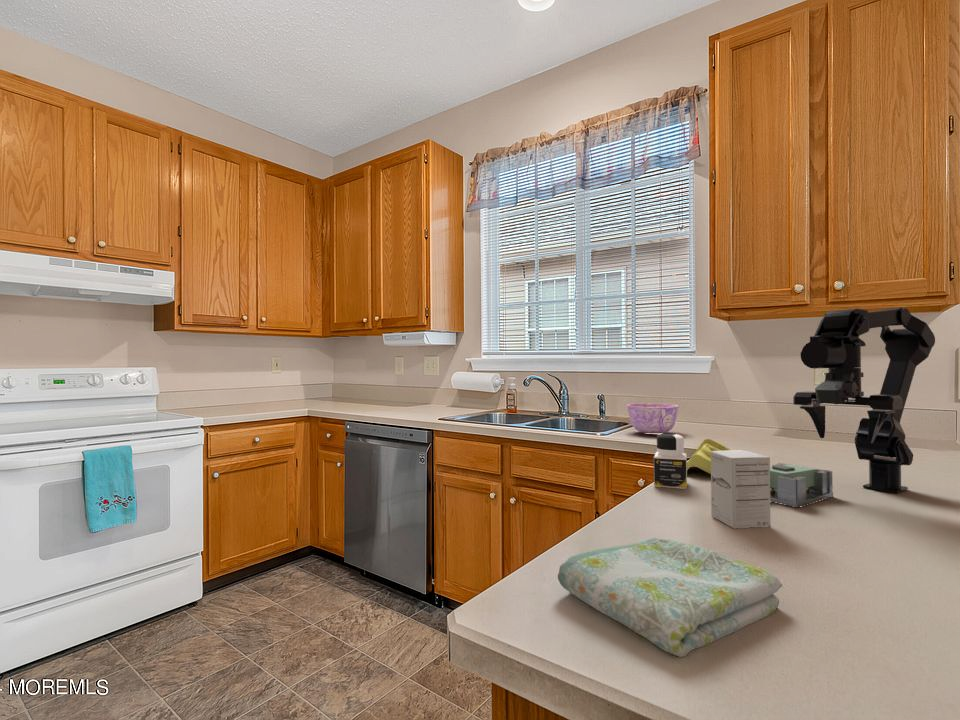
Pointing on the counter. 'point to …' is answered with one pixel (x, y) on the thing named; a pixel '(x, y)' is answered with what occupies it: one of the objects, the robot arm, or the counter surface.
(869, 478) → the robot arm
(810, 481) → the green block
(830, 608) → the counter surface
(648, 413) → the purple round bowl
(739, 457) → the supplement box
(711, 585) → the towel
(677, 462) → the medicine bottle
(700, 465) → the plastic component
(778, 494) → the chassis
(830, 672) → the counter surface
